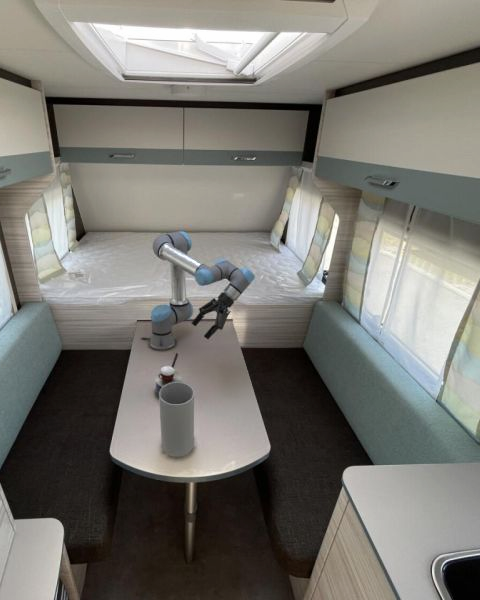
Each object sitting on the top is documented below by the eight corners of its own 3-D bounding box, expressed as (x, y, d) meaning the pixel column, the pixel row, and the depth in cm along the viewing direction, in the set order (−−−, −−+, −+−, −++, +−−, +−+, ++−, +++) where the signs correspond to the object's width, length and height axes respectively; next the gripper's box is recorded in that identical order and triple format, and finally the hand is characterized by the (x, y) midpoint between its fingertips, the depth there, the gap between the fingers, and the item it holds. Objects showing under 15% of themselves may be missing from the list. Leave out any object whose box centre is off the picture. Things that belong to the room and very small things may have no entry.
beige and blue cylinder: (150, 391, 155) (149, 377, 152) (170, 380, 163) (169, 366, 160) (167, 404, 147) (167, 390, 144) (187, 391, 155) (187, 378, 152)
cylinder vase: (198, 452, 123) (199, 400, 113) (166, 462, 119) (164, 408, 109) (187, 428, 134) (187, 379, 124) (158, 436, 130) (155, 386, 120)
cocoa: (158, 383, 148) (157, 361, 144) (158, 374, 154) (157, 353, 149) (179, 381, 149) (179, 359, 145) (178, 373, 155) (178, 352, 150)
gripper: (247, 311, 144) (216, 347, 144) (220, 291, 165) (193, 323, 165) (238, 302, 140) (206, 339, 140) (211, 283, 160) (183, 316, 161)
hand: (199, 331), depth 153 cm, fingers open, 13 cm apart
